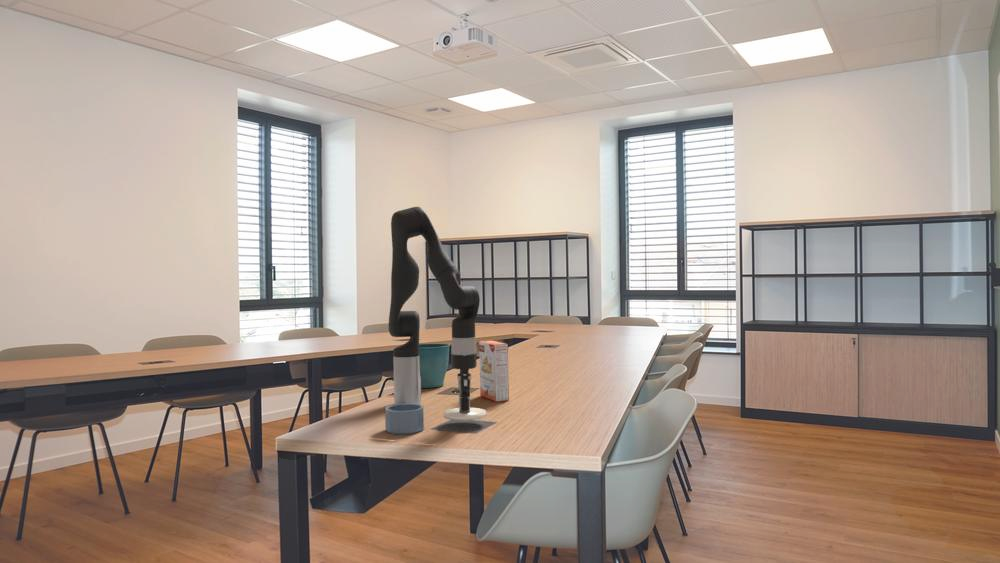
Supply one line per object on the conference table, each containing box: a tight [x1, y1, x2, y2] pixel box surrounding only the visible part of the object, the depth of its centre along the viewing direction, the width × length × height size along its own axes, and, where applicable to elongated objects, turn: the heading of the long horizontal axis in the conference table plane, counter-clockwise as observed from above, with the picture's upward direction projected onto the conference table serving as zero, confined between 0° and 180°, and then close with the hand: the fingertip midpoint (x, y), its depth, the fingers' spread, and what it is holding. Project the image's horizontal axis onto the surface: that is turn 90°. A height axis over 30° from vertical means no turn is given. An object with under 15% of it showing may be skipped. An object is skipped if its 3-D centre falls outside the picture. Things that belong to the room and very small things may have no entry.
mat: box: [430, 419, 498, 434], centre depth 194 cm, size 15×15×1 cm
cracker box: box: [478, 340, 510, 403], centre depth 238 cm, size 14×6×21 cm, turn 25°
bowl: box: [384, 404, 425, 435], centre depth 189 cm, size 11×11×7 cm
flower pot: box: [419, 342, 451, 389], centre depth 268 cm, size 18×18×17 cm
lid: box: [442, 392, 487, 420], centre depth 194 cm, size 13×13×6 cm
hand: (464, 408), depth 194 cm, fingers closed on lid, 3 cm apart
